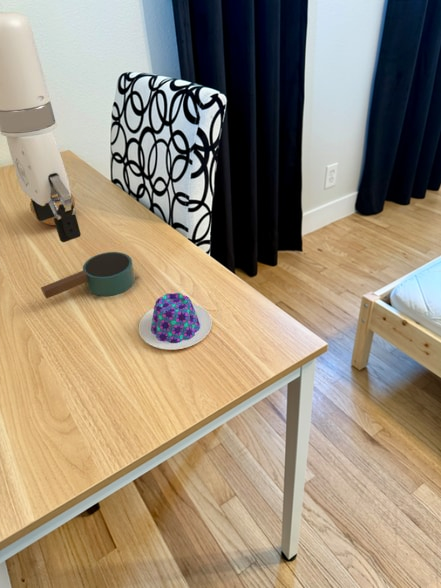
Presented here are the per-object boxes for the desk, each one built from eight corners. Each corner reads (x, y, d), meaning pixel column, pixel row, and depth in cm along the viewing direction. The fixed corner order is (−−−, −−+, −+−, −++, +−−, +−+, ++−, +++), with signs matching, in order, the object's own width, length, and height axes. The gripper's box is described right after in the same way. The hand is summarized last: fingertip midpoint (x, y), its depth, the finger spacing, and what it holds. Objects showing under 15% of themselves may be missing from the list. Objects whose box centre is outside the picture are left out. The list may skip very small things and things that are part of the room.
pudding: (226, 333, 69) (225, 307, 66) (160, 364, 64) (155, 338, 61) (188, 296, 77) (186, 272, 74) (127, 321, 72) (122, 297, 69)
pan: (121, 263, 87) (117, 246, 84) (143, 283, 81) (140, 264, 79) (39, 296, 79) (33, 278, 76) (58, 321, 73) (52, 301, 71)
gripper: (-19, 113, 63) (18, 218, 74) (19, 137, 52) (57, 257, 63) (31, 103, 67) (60, 204, 77) (76, 124, 56) (103, 239, 66)
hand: (58, 228), depth 70 cm, fingers open, 9 cm apart
